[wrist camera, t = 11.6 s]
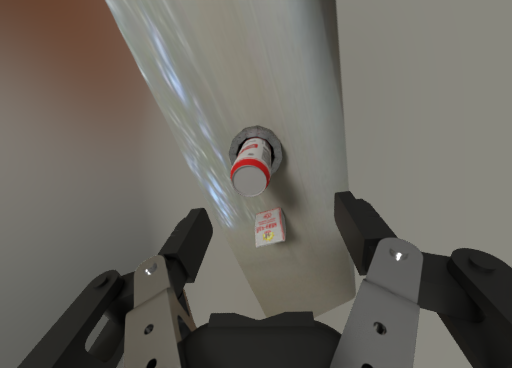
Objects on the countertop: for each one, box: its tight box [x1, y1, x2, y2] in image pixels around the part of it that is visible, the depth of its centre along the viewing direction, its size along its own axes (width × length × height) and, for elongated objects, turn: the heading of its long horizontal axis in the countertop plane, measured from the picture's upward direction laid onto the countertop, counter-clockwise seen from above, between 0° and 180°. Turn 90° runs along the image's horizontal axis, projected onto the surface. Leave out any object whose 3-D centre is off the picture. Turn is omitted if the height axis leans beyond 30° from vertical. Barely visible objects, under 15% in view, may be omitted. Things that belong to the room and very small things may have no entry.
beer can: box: [230, 137, 271, 197], centre depth 33 cm, size 6×6×16 cm
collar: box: [229, 126, 282, 175], centre depth 39 cm, size 11×11×3 cm
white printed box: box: [255, 207, 286, 247], centre depth 44 cm, size 4×7×10 cm, turn 112°
